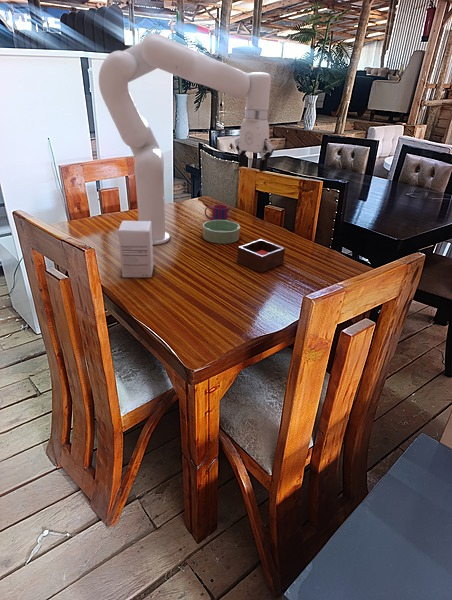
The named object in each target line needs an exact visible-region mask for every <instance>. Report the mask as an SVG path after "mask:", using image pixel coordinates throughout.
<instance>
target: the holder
mask: <svg viewBox="0 0 452 600" xmlns="http://www.w3.org/2000/svg"><path fill="white" fill-rule="evenodd" d="M260 250H264V251H266V252H269V253H268V254H265V255H260V254H257V253H255V252H258V251H260ZM285 253H286V247H284V246H280V245H278V244H275V243H272V242H270V241H267V240H264V239H262V238H260V239H257V240H254V241H251V242H249V243H246V244H243V245H240V246H237V254H236V255H237V257H236V263H237V264H239V265H242V266H244V267H246V268H248V269H251V270H253V271H255V272H258V273H260V274H262V273H264V272H267V271H269V270H271V269H274V268H276V267H279V266H281V265H283V264H284V260H285Z"/></svg>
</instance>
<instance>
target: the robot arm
mask: <svg viewBox="0 0 452 600" xmlns="http://www.w3.org/2000/svg"><path fill="white" fill-rule="evenodd" d="M157 69H158V70H161V71H164V72H166V73H169V74H171V75H174V76H176V77H179V78H181V79H184V80H186V81H188V82H190V83H193V84H197V85H202V86H205V87H208V88H210V89H212V90H215V91H217V92H220V93H223V94H225V95H227V96H228V97H232V98H234V99H240V98H243V97H245V109H244V111H243V115H244V118H242V121H241V125H240V129H239V130H240V131H239V137H238V138H236V139H235V140H234V144H235V149H236V151H237V155H238V167H239V168H241V167H246V165H247V152H249V153H252V154H259V156H260V159H259V167H258V171H259V172H261V173H263V172H266V171H267V168H268V160H270V157H271V156H272V155H273V153H274V152H275V149H276V148H275V146H274V145H273V144H272V143H271V142H270V123H269V120H268V117H269V107H270V106H269V105H270V96H271V84H272V76H271V74H270V73H267V72H260V71H259V72H257V71H255V72H254V71H253V72H245V71H243V70H241V69H239V68H236V67H234V66H232V65H230V64H227V63H225V62H223V61H220V60H218V59H215V58H213V57H211V56H209V55H208V54H207V55H206V54H205V53H203V52H201V51H199V50H196V49H194V48H193V47H189V46H187V45H185V44H182V43H180V42H178V41H175V40H173V39H171V38H168V37H166V36H164V35H161V34H159V33H155V32H154V33H150V34H147V35H146V36H145V37H144V39H143V40H142V41H139V43H136V44H135V45H132V46H130V47H128V48H126V49H123V50H114V51H112V52H110V53H109V54H108V55H107V56H106V57H105V59H104V60H103V62H102V63H101V66H100V69H99V73H98V87H99V91H100V95H101V98H102V100H103V102H104V104H105V106H106V109H107V110H108V112H109V115H110V117H111V119H112V121H113V124H114V125H115V127H116V129H117V132H118V134H119V136H120V138H121V140H122V142H123V143H124V144H125V145H126V146H128V147H129V148H130V150H131V152H132V154H133V156H134V165H133V166H134V167H133V169H134V178H135V179H134V180H135V189H136V204H137V217H138V218H137V219H138V220H137V221H151V227H152V246H153V245H155V246H156V245H163V244H166V243H167V242H169V240H170V235H169V233H167V232H166V211H165V210H166V209H165V208H166V207H165V179H164V178H165V177H164V172H165V171H164V170H165V169H164V168H165V167H164V165H165V162H164V161H165V159H164V154H163V152H162V150H161V148H160V146H159V143H158V141H157V139H156V137H155V135H154V132H153V130H152V128H151V126H150V124H149V122H148V120H147V119H145V117H143V116H142V115H141V114H140V111H139V110H138V108H137V106H136V103H135V100H134V99H133V97H132V95H131V93H130V89H129V83H131V82H133V81H135V80H137V79H139V78H141V77H143V76H145V75H148V74H149V73H151V72H154V71H155V70H157Z"/></svg>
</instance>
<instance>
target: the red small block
mask: <svg viewBox="0 0 452 600" xmlns="http://www.w3.org/2000/svg"><path fill="white" fill-rule="evenodd" d="M255 253H257V254H260V255H265V254H268V253H269V252H266V251H264V250H260V251H258V252H255Z"/></svg>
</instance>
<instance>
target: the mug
mask: <svg viewBox="0 0 452 600" xmlns="http://www.w3.org/2000/svg"><path fill="white" fill-rule="evenodd" d="M208 209H211V212H212V213H211V215H212V216H208V214H207V210H208ZM229 210H230V207H229V206H228V205H226V204H214V205H212V206H206V207H205V209H204V215H205V217H206V218H207V219H209V220H210V221H211V220H228V221H229Z"/></svg>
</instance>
